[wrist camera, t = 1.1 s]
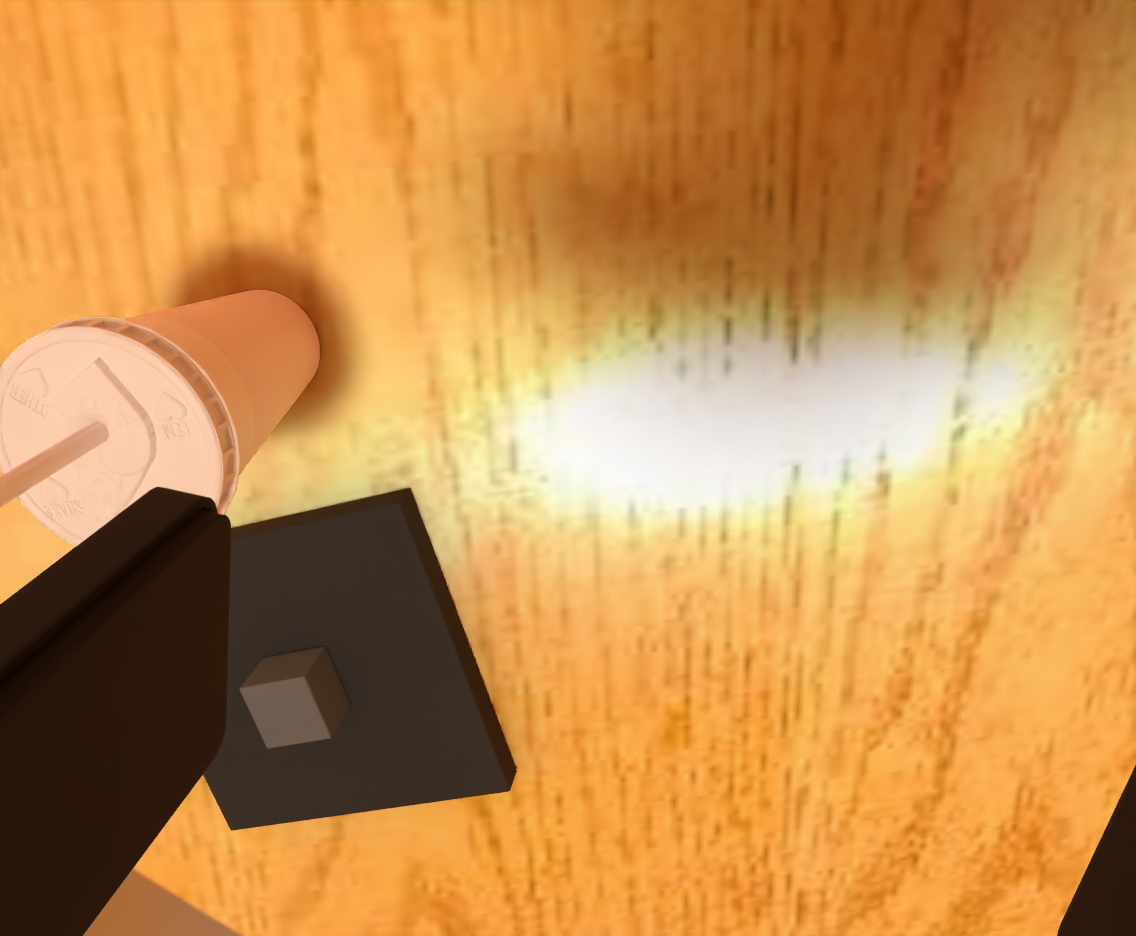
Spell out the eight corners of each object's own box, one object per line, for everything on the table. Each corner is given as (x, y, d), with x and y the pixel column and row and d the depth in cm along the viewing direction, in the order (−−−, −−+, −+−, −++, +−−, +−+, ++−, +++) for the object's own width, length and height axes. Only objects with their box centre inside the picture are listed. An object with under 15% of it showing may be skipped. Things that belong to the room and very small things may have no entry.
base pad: (410, 487, 36) (379, 527, 33) (517, 771, 40) (498, 829, 37) (118, 553, 39) (67, 596, 37) (243, 811, 43) (206, 867, 40)
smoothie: (365, 266, 34) (123, 412, 21) (354, 450, 36) (133, 681, 23) (174, 232, 34) (-174, 354, 21) (177, 416, 37) (-132, 622, 24)
